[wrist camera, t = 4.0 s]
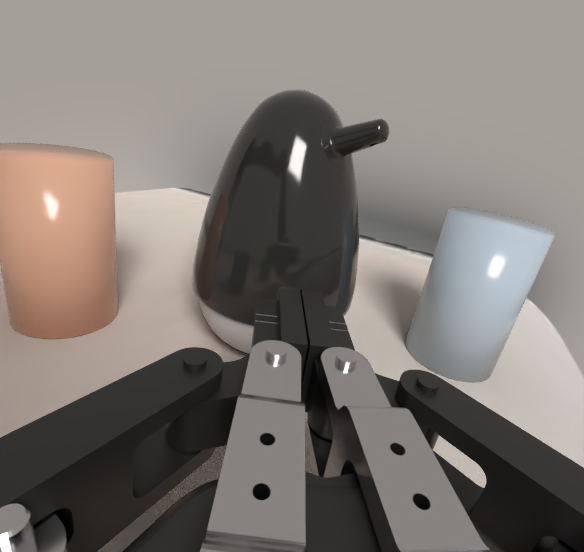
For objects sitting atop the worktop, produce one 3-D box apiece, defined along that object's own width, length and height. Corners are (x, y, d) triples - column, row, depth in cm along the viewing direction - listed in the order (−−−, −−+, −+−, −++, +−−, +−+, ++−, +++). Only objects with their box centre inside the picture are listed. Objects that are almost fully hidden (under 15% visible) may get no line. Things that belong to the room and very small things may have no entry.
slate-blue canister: (389, 345, 27) (432, 209, 23) (430, 324, 31) (472, 205, 27) (470, 394, 23) (537, 242, 19) (504, 363, 27) (566, 232, 23)
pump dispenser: (272, 413, 19) (332, 83, 13) (157, 324, 25) (161, 64, 19) (368, 343, 27) (434, 113, 21) (263, 287, 32) (291, 93, 26)
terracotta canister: (1, 302, 24) (-27, 139, 20) (100, 285, 28) (93, 146, 24) (21, 350, 21) (-8, 162, 17) (132, 323, 25) (130, 166, 21)
